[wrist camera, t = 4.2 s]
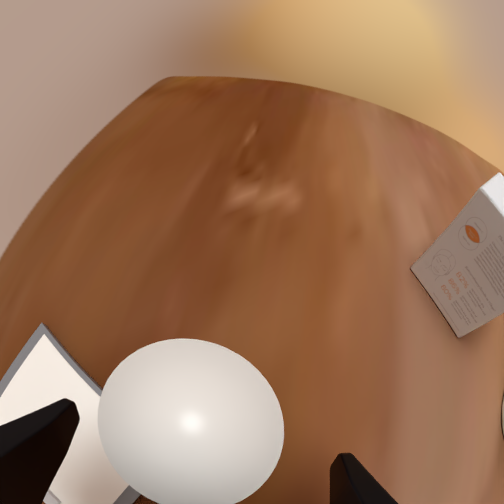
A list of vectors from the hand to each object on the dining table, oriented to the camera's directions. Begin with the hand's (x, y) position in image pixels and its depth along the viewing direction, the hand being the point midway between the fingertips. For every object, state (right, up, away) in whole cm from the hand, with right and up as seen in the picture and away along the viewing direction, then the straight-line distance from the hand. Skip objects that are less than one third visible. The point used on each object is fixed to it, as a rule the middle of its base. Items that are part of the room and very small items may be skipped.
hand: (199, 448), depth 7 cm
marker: (0, -4, +8) cm, 9 cm away
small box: (+19, +3, +14) cm, 24 cm away
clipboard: (-11, -6, +5) cm, 14 cm away
